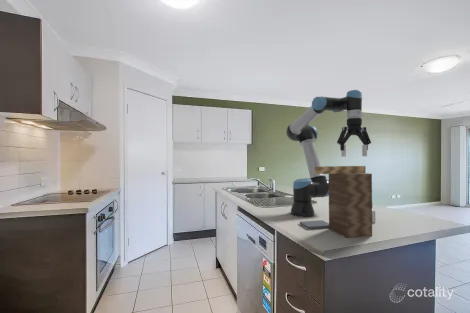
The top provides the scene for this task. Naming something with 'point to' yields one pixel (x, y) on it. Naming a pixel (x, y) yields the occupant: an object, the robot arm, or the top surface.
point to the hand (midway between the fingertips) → (354, 156)
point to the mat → (315, 224)
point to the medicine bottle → (373, 216)
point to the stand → (350, 204)
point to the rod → (339, 169)
